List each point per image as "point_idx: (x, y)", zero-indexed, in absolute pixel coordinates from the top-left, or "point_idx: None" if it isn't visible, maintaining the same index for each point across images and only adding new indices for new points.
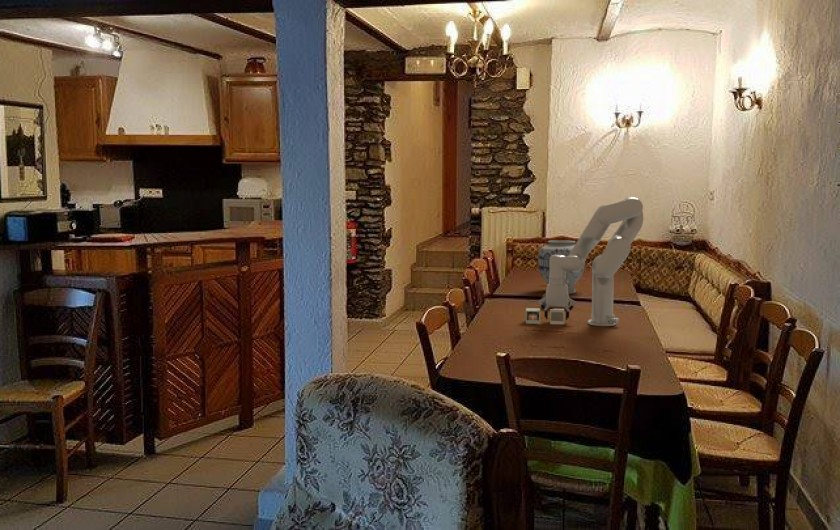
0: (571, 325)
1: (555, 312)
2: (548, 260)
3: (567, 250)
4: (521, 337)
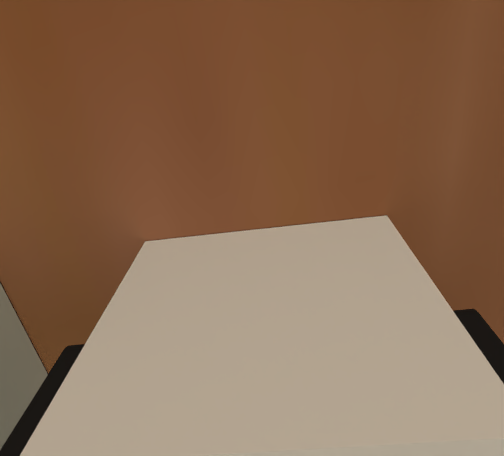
0: None
1: (219, 372)
2: None
3: None
4: None
